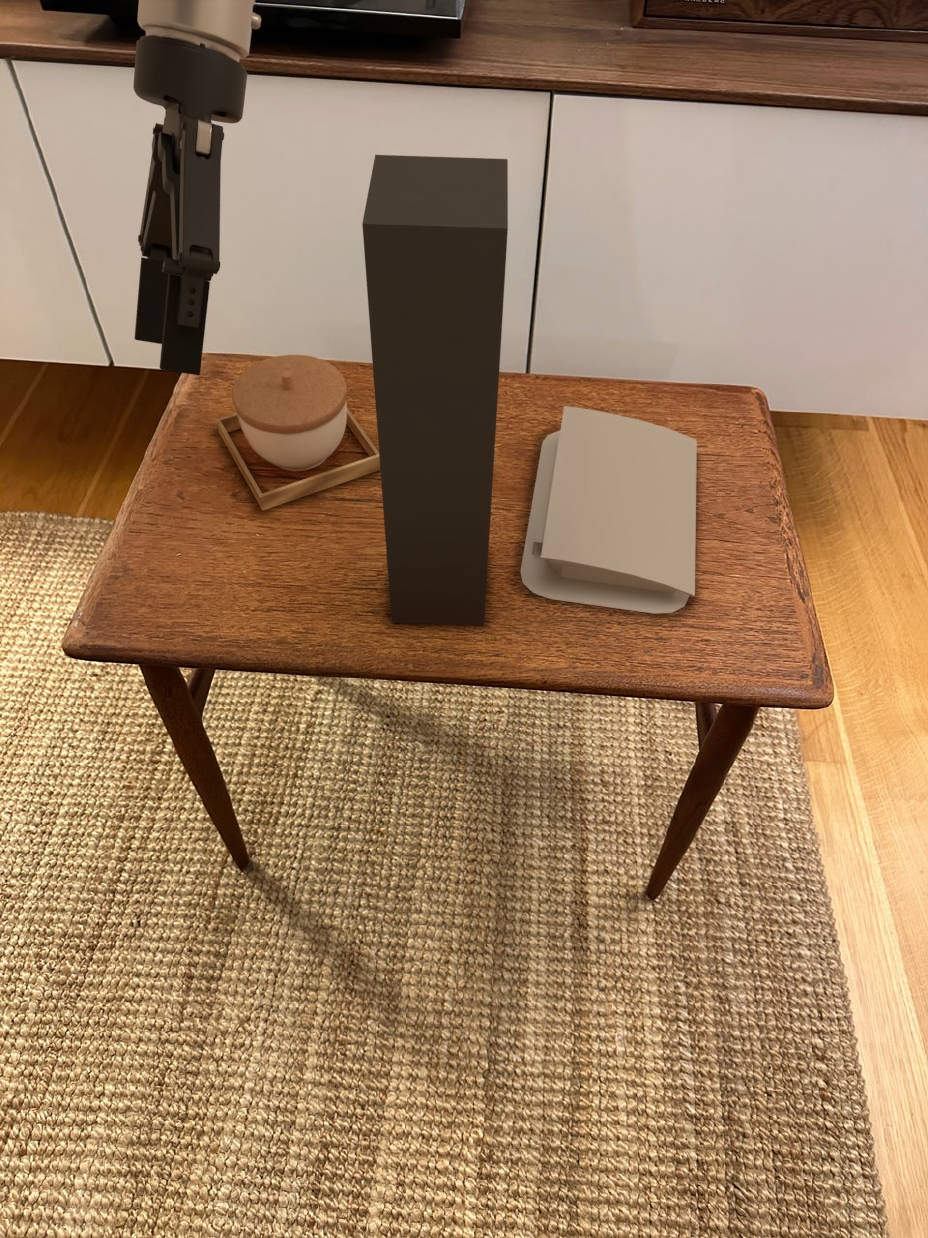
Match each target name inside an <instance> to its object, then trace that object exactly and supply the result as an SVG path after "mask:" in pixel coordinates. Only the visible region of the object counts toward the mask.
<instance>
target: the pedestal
mask: <svg viewBox="0 0 928 1238" xmlns="http://www.w3.org/2000/svg"><path fill="white" fill-rule="evenodd" d="M508 161H509V160H508V158H488V157H487V158H485V157H457V156H455V157H454V156H430V155H429V156H427V155H426V156H425V155H395V154H393V155H392V154H375V155H374V159H373V163H372V169H371V170H372V171H371V175H370V181H369V186H368V192H367V196H366V202H365V208H364V212H363V217H362V222H361V223H362V225H361V226H362V235H363V236H362V237H363V251H364V252H363V253H364V266H365V278H366V292H367V293H366V294H367V305H368V306H367V307H368V320H369V332H370V333H369V335H370V346H371V347H370V348H371V360H372V361H371V362H372V373H373V374H372V375H373V387H374V398H375V399H374V401H375V414H376V427H377V428H376V429H377V442H378V452H379V457H380V470H379V471H380V483H381V493H382V494H381V497H382V511H383V523H384V524H383V525H384V535H385V536H384V537H385V538H384V539H385V550H386V551H385V552H386V561H387V562H386V564H387V578H388V592H389V605H390V619H391V623H393V624H417V625H418V624H419V625H444V626H445V625H446V626H447V625H448V626H474V627H475V626H476V627H484V626H485V620H486V619H485V616H486V615H485V614H486V601H487V600H486V599H487V585H488V568H489V567H488V566H489V551H490V536H491V535H490V533H491V519H492V516H491V515H492V503H493V502H492V500H493V485H494V484H493V483H494V466H495V449H496V434H497V416H498V400H499V399H498V398H499V384H500V383H499V381H500V365H501V348H502V335H503V334H502V333H503V331H502V330H503V318H504V317H503V316H504V315H503V314H504V297H505V281H506V268H507V267H506V266H507V265H506V264H507V250H508V249H507V248H508V233H509V232H508V230H509V193H508V192H509V189H508V188H509V177H508V176H509V175H508V173H509V172H508V171H509V168H508V167H509V165H508V164H509V163H508Z"/></svg>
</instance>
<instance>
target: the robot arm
mask: <svg viewBox="0 0 928 1238" xmlns="http://www.w3.org/2000/svg"><path fill="white" fill-rule="evenodd" d="M255 4H256V0H138V7H137V8H138V9H137V24H138V26H139V27H140V29H141V30H143V31H144V32H145V35H142V36H140V37H139V39H137V40H136V46H135V59H134V71H133V72H134V73H133V84H132V85H133V87H132V88H133V91H134V93H135V94H136V96H137V97H138V98H140V99H141V100H143V101H145V102H147V103H150V104H152V105H156V106H159V107H162V108H164V109H165V113H164V114H165V115H164V118H163V124H162V123H159V122H156V123H155V124H154V126H153V127H152V135H153V136H152V141H151V156H150V157H151V158H150V163H149V164H150V165H149V171H148V179H147V185H146V191H145V198H144V204H143V211H142V218H141V224H140V229H139V230H140V231H139V234H138V236H137V242H138V245H139V246H140V248H139V249H140V252H141V256H140V266H139V267H140V269H139V280H138V281H139V282H138V290H137V303H136V314H135V315H136V316H135V326H134V327H135V328H134V337H133V338H134V340H135V341H138V342H140V341H141V342H145V343H151V344H157V345H158V344H159V345H161V349H160V358H159V359H160V360H159V369H160V370H161V371H165V372H166V371H168V372H173V373H180V374H181V373H182V374H188V375H194V376H200V375H201V370H202V369H201V368H202V359H203V352H204V351H203V350H204V341H205V331H206V323H207V313H208V306H209V305H208V304H209V296H210V288H211V287H210V285H211V281H212V278H213V277H214V275H217V274H218V272H219V271H220V269H221V261H220V259H221V258H220V251H221V249H220V248H221V242H220V241H221V179H222V177H221V176H222V175H221V171H222V170H221V169H222V167H221V166H222V163H221V162H222V152H223V142H224V139H225V132H224V126H222V125H220V124H215V123H212V122H218V123H224V124H237V123H239V122H241V120H242V119H243V116H244V107H245V97H246V90H247V81H248V72H247V70H246V67H245V65H244V64H242V63H241V62H240V60H244V59H245V58H246V57H248V56H249V55H250V47H251V39H252V31H253V30H258V29H260V28H261V23H262V18H261V15H260V14H257V13H256V12H254V11H253V10H254V5H255ZM252 29H253V30H252Z"/></svg>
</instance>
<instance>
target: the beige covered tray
mask: <svg viewBox="0 0 928 1238" xmlns="http://www.w3.org/2000/svg"><path fill="white" fill-rule="evenodd" d="M697 453H698V440H697V439H696V438H693V437H690V436H689V435H686V434H684V433H681V432H680V431H679V432H678V431H676V430H675V429H672V428H670V427H669V428H668V427H665V426H662V425H659V424H655V423H652V422H648V421H645V420H642V419H637V418H632V417H629V416H624V415H621V414H615V413H610V412H605V411H599V410H595V409H590V408H584V407H577V406H576V407H575V406H568V405H563V411H562V417H561V423H560V429H559V430H557V431H554V432H551V433H550V434H547V435H546V437H545V438H544V440H543V441H542V444H541V448H540V454H539V459H538V465H537V470H536V471H537V472H536V476H535V477H536V478H535V484H534V490H533V495H532V501H531V507H530V513H529V517H528V525H527V531H526V537H525V542H524V548H523V554H522V558H521V559H522V560H521V565H520V571H519V573H520V576H521V582H522V585H523V586H524V587H526V588H527V589H528V590H529V591H530V592H531V593H533V594H534V595H537V596H540V597H542V598H546V599H548V600H552V601H553V600H554V601H559V602H560V601H562V602H566V603H567V602H569V603H575V604H581V605H589V606H597V607H601V608H609V609H610V608H611V609H617V610H625V611H630V612H631V611H632V612H639V613H646V614H653V615H658V614H659V615H660V614H661V615H662V614H673V613H675V612H677V611H679V610H681V609H682V608H684V607H685V606H686V605H687V602H688V600H689V597H690V596H692V597H695V596H696V545H697V544H696V539H697V538H696V537H697V535H696V533H697V532H696V531H697V529H696V528H697V458H698V457H697V456H698V454H697Z"/></svg>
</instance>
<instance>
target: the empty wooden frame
mask: <svg viewBox="0 0 928 1238" xmlns="http://www.w3.org/2000/svg"><path fill="white" fill-rule="evenodd" d="M215 422H216V426H217V430H218V434H219V436H220V437H221V439H222V441H223V443H224V444H225V446H226V448H227V450H228V451H229V454H230V456H231V457H232V459H233V461H234V462H235V464H236V466H237V468H238V470H239V472H240V473H241V475H242V477H243V478H244V480H245V483H246V484H247V486H248V487H249V490H250V491H251V493H252V495H253V497H254V498H255V500H256V502H257V503H258V505H259V507H260V509H261V511H267V510H269V509H271V508H275V507H278V506H280V505H283V504H286V503H290V502H292V501H295V500H298V499H301V498H304V497H307V496H309V495H312V494H315V493H318V492H321V491H324V490H327V489H329V488H332V487H336V486H338V485H341V484H344V483H347V482H349V481H353V480H355V479H359V478H362V477H365V476H367V475H370V474H373V473H376V472H379V471H380V457H379V449H377V448H376V446H375V445H374V443H373V442H372V440H371V439H370V438H369V436H368V434H367V433H366V432H365V430H364V429H363V427H362V426H361V425H360V423H359V422H358V421H357V419H356V417H355V415H354V414H353V413H352V411H350V409H349V407H347V421H346V426H347V427H348V428H349V429H350V431H351V433H352V434H353V435H354V437H355V438H356V440H357V441H358V442H359V444H360V445H361V446H362V448H363V450H364V451H365V453H366V454H367V455H368V457H365V458H363V459H359V460H356V461H354V462H350V463H348V464H345V465H342V466H339V467H336V468H333V469H331V470H327V471H324V472H321V473H318V474H316V475H313V476H310V477H307V478H304V479H301V480H297V481H295V482H292V483H289V484H287V485H284V486H281V487H277V488H274V489H271V490H268V491H265V492H262V491H261V488H260V487H259V486H258V484H257V482H256V480H255V478H254V476H253V475H252V473H251V471H250V469H249V468H248V466H247V464H246V462H245V460H244V459H243V457H242V456H241V454H240V452H239V451H238V449H237V447H236V445H235V442H233V440H232V438H231V436H230V434H229V433H231V432H234V431H238V430H240V429H241V426H240V423H239V419H238V416H237V412H234V413H232V414H228V415H225V416H222V417H218V418H216V419H215ZM241 430H242V429H241Z"/></svg>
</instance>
